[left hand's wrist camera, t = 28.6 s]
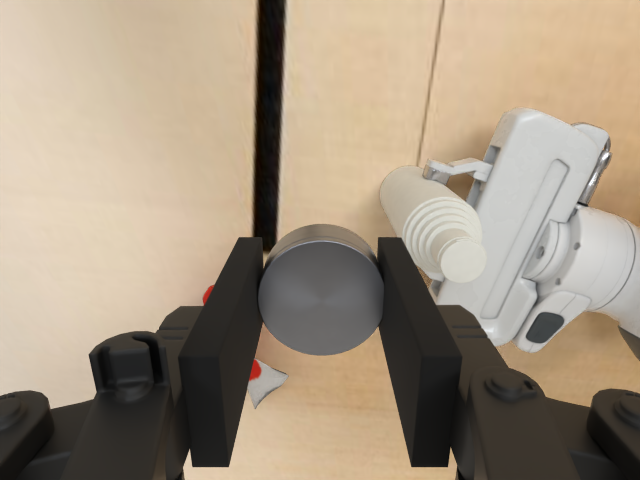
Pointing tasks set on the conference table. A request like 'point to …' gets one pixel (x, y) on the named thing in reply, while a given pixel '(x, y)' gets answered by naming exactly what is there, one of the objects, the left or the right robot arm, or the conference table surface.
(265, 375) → the fish
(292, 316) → the cap
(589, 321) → the conference table surface
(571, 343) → the conference table surface
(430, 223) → the bottle
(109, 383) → the left robot arm
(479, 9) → the conference table surface
